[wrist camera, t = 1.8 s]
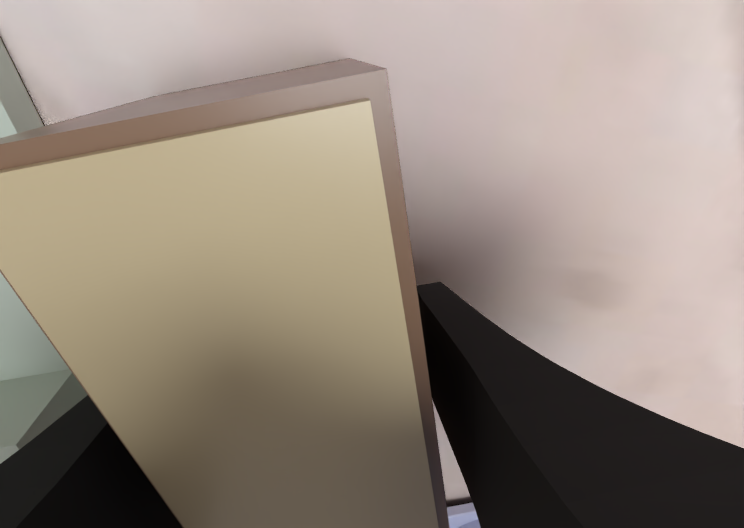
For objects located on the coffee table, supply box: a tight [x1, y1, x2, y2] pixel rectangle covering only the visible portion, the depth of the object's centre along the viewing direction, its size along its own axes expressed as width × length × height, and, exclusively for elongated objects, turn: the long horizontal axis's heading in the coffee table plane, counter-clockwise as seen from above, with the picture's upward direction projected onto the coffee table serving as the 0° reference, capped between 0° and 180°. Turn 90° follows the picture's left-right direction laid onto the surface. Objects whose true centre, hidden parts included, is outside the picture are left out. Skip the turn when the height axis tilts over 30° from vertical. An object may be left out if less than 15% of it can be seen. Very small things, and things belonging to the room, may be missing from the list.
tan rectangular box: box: [0, 58, 449, 528], centre depth 8 cm, size 11×4×6 cm, turn 10°
